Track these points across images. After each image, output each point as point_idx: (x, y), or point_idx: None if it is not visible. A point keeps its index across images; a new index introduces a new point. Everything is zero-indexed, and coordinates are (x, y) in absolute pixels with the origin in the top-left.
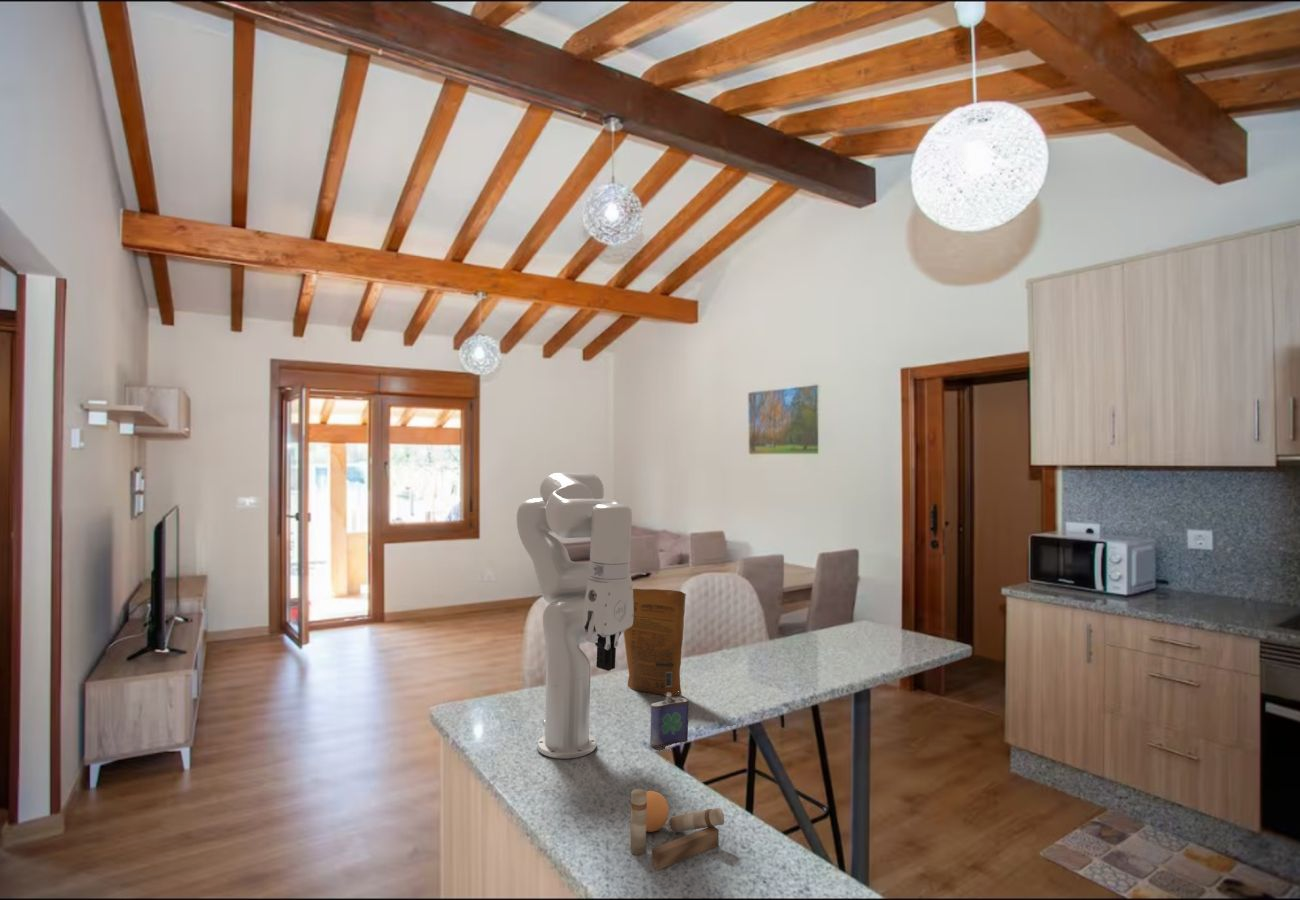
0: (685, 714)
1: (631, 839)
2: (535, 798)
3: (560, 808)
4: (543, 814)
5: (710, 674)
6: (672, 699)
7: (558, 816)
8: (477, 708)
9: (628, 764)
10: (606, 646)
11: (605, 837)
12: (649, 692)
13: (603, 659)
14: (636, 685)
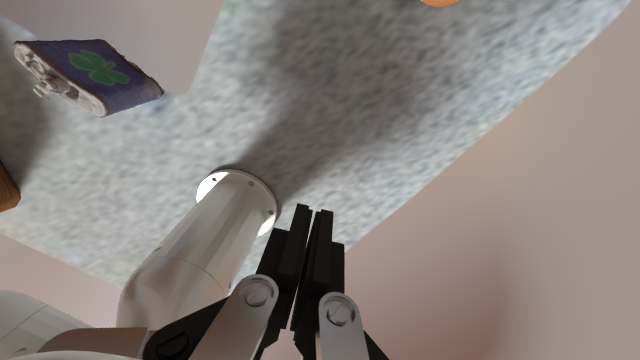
0: (56, 44)
1: None
2: (386, 182)
3: (403, 142)
4: (425, 156)
5: None
6: (49, 76)
7: (426, 136)
8: None
9: (238, 105)
10: (359, 321)
11: (475, 42)
12: (5, 169)
13: (343, 266)
14: (9, 193)
